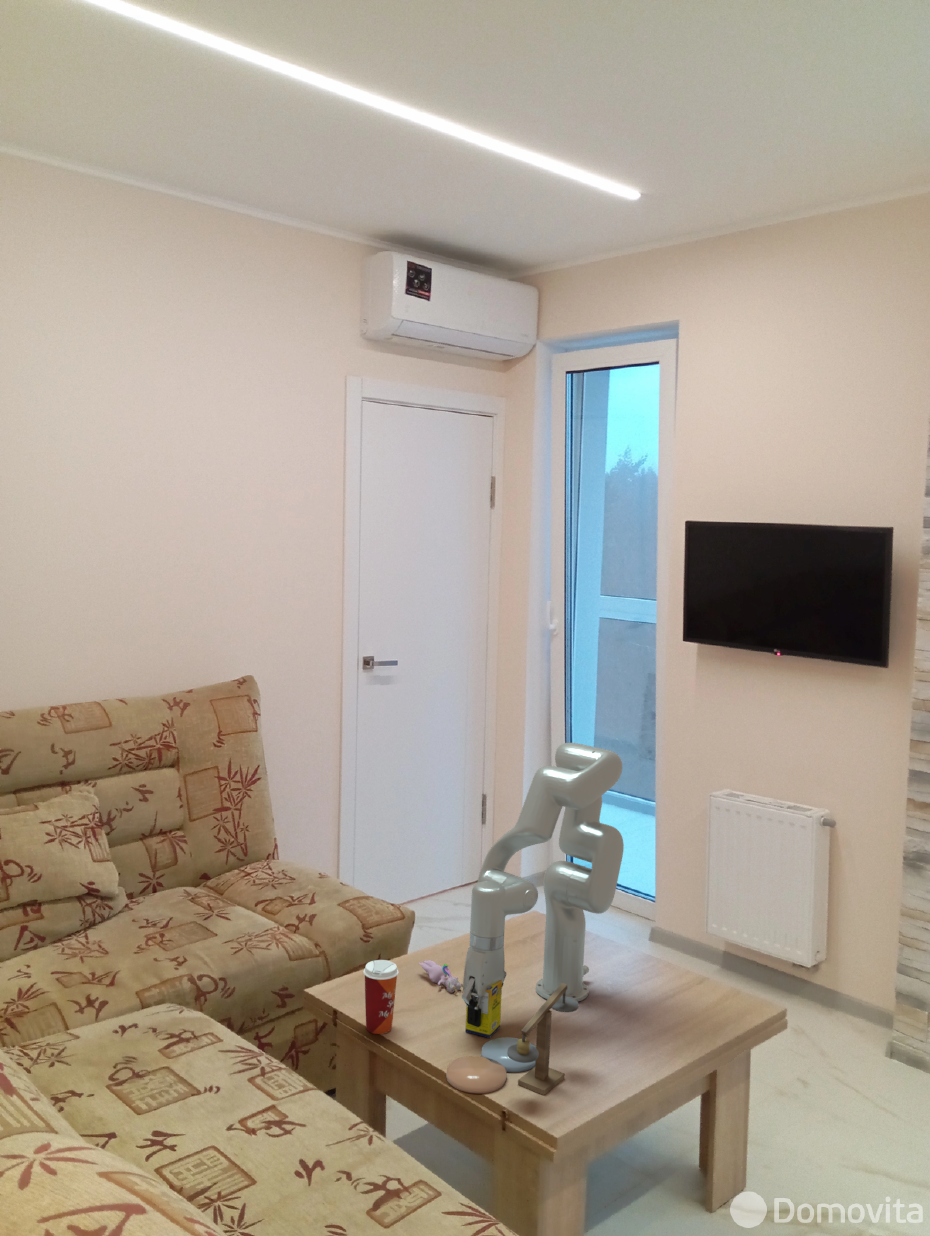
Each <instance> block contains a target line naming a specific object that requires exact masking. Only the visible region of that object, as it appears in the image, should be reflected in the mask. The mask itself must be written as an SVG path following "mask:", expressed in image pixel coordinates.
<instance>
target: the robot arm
mask: <svg viewBox="0 0 930 1236" xmlns="http://www.w3.org/2000/svg"><path fill="white" fill-rule="evenodd" d="M554 755H555V756H554V759H555V766H554V765H553V766H552V765H544V766H542V767H541V766H540V767H539V769H537V770H536V772H535V773H534V775H533V777H532V781H531V784H530V786H529V789H528V792H527V793H526V797H525V800H524V802H523V805H522V808H521V811H520V813H519V816H518V819H517V822H516V823H515V826H513V827H512V828H511V829H510V830H508V831H507V832H506V833H504V834H503V835H502V836H501V837H500V838H499V839H498V840H496V842H495V843H494V844H493V845H492V846H491V847H490V849H489V850H488V852H487V854H486V856H485V858H484V861H483V864H482V867H481V869H480V872H479V875H478V879H477V883H475V884H474V885H473V887H472V888H471V903H470V905H471V906H470V924H469V926H470V927H469V944H468V945H469V947H468V949H467V952H466V957H465V962H464V969H463V981H462V984H463V987H462V991H464V992H462V994H461V999H462V1001H463V1002H464V1003H465V1004H466V1005H465V1007H466V1006H467V1007H468V1012H467V1023H468V1024H471V1025H473V1026H476V1027H479V1026H480V1025H481V1009H480V1008H479V1007H480V1004H481V1000H482V996H484V995H486V990H487V989H488V988H489V987H491V986H492V985H494V984H496V983H497V982H499V981H501V980H502V987H503V986H504V981H505V980H506V977H507V972H506V971H505V969H506V967H505V966H506V965H505V964H506V963H505V961H506V960H505V946H504V945H505V928H506V927H505V926H506V925H505V924H506V916H511V915H520V914H525V913H527V912H529V911H531V910H532V909H533V908H534V907H536V906H535V905H537V903H538V899H539V892H538V889H537V887H536V885H535V884H534V883H533V881H530V880H528V879H525V878H522V877H521V876H517V875H515V874H511V873H509V872H506V868H507V867H506V866H507V865H508V863H509V861H510V859H512V857H513V856H514V855H515V854H516V853H517V852H519V851H521V850H523V849H524V848H527V847H531V846H534V845H535V846H536V845H539V844H544V843H546V842H549V841H550V840H551V839H552V837H553V834H554V831H555V829H556V825H557V823H558V820H559V817H560V814H561V811H562V808H563V807H564V812H563V816H562V817H563V818H562V820H561V821H562V822H561V826H560V831H559V838H558V847H559V849H560V851H561V852H562V853H563V854H565V855H567V856H570V857H572V858H575V859H579V860H582V861H584V862H589V863H591V868H589V867H586V866H584V865H581V864H578V863H574V862H572V861H566V860H558V861H554V862H552V863H551V864H549V865H548V867H547V868H546V869H545V872H544V875H543V884H542V885H543V891H544V892H543V893H544V899H545V901H544V902H545V926H544V927H545V930H544V931H545V933H544V947H543V966H542V967H543V970H542V971H543V972H542V978H541V979H539V980H538V981H536V984H535V991H536V993H537V994H538V995H539V996H540V997H541V998H543V999H545V1000H548V999H549V997H550V996H551V995H552V994H553V993H554V992H555V990H556V989H557V988H558V987H559V986H560V985H561V984H562V983H564V984H567V990H566V997H570V998H573V999H575V1000H576V1001H577V1002H578V1003H579V1002H580V1001H584V1000H585V999H586V998H588V996H589V990H590V989H589V987H588V985H587V984H585V982H584V981H583V979H584V977H585V976H586V974H588V973H589V971H590V969H589V967H588V966H587V965H585V964H584V960H585V957H584V956H585V945H586V944H585V941H586V916H585V912H589V913H591V914H596V915H597V914H604V913H605V912H607V911H609V908H610V907H611V905H612V903H613V901H614V897H615V895H616V890H617V885H618V881H619V876H620V870H621V866H622V861H623V856H624V849H625V847H624V846H625V845H624V840H623V839H624V837H623V836H622V833H621V832H620V830H618V829H617V828H616V827H614V826H612V825H609V824H606V823H603V822H600V818H601V812H602V806H603V795H604V794H606V793H607V792H609V790H610V789H612V788H613V787H614V786H615V785H616V784H617V782H618V781H619V779H620V778H621V775H622V771H623V762H622V758H621V757H620V756H619V754H618V753H616V752H614V751H612V750H609V749H606V748H600V747H594V746H591V745H587V744H582V743H576V742H564V743H561V744H560V745H559V746H558V747H557V749H556V751H555V754H554ZM584 911H585V912H584ZM474 989H475V990H476V991H477V993H475V992H473V990H474ZM473 995H474V996H476V997H477V1000H476V1002H475V1001H474V1000H473ZM562 996H563V995H562Z"/></svg>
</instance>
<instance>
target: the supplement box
mask: <svg viewBox="0 0 930 1236" xmlns="http://www.w3.org/2000/svg"><path fill="white" fill-rule="evenodd" d="M502 989H503V986H502V980H501V981H499V982H497V983H496V984H494V985H492V986H491V987H489V988H488V989H487V990H486V995H484V996H482V1000H481V1004H480V1007H479V1008H480V1009H481V1025H480V1026H479V1027H476V1026H473V1025H471V1024H468V1023H467V1012H468V1007H467V1006H466V1005H465V1007H466V1008H465V1013H466V1014H465V1032H466V1033H468V1034H473V1035H476V1036H480V1037H483V1038H488V1039H491V1037H492V1036H493V1035H494V1034H495V1033H496V1032H497V1031H498V1030H499V1029H500V1028H501V1014H502V993H503V992H502ZM473 992H475V993H477V991H476V990H475V989H474V990H473ZM473 1000H474V1001H475V1002H476V1000H477V997H476V996H474V995H473Z"/></svg>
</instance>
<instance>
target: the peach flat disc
mask: <svg viewBox="0 0 930 1236" xmlns="http://www.w3.org/2000/svg"><path fill="white" fill-rule="evenodd" d="M486 1058H487V1057H486ZM486 1058H485V1057H481V1056H480V1055H467V1056H462V1057H458V1058H455V1059H454V1060H452V1061H450V1063H449V1064H448V1065H447V1067H446V1073H445V1075H446V1080H447V1082H448V1084H450V1085H451V1086H452V1087H453V1088H455V1090H456V1089H457V1090H458V1091H461V1092H464V1093H468V1094H480V1095H481V1094H488V1093H492V1092H496V1091H498V1090H500V1089H502V1087H503V1086H504V1085H505V1083H506V1082H507V1072H506V1069H505V1068H504V1066H503V1065H502V1064H500V1063H499V1062H497V1061H496V1062H495V1060H492V1062H491V1059H490V1058H488V1059H489V1060H490V1061H489V1060H488V1059H486ZM493 1061H494V1063H493ZM497 1063H498V1064H497Z"/></svg>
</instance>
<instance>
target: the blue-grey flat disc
mask: <svg viewBox="0 0 930 1236" xmlns="http://www.w3.org/2000/svg"><path fill="white" fill-rule="evenodd" d="M519 1039H520V1038H518V1037H505V1036H504V1037H498V1038H492V1039H491V1040H488V1041H486V1042H485V1043H484V1044H483V1045H482V1047H481V1057H485V1058H486V1057H487V1058H486V1059H488V1058H490V1059H491V1062H492V1060H495V1062H496V1061H497V1062H499V1063H500V1064H502V1065H503V1066H504V1068H505V1069H506V1073H522V1072H527V1071H530V1070H531V1069H533V1068H534V1067H535V1061H533V1062H529V1063H521V1062H516V1061H514V1060H512V1059H510V1058H509V1057H508V1055H507V1051H508V1048H509V1047H510V1046H512V1045H515V1044H517V1041H518V1040H519ZM530 1045H531V1046H533V1047H535V1048H536V1045H534V1044H533V1043H531V1042H530ZM488 1060H489V1059H488ZM489 1061H490V1060H489ZM493 1063H494V1061H493ZM497 1064H498V1063H497Z"/></svg>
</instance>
